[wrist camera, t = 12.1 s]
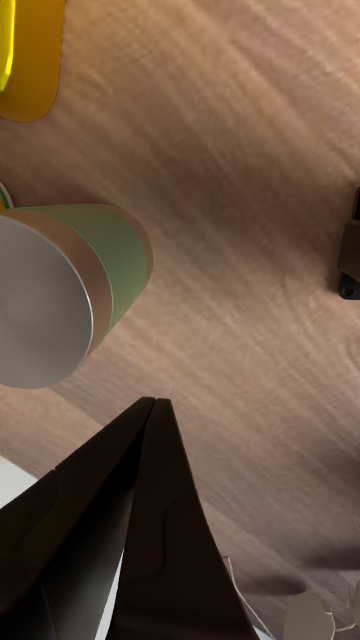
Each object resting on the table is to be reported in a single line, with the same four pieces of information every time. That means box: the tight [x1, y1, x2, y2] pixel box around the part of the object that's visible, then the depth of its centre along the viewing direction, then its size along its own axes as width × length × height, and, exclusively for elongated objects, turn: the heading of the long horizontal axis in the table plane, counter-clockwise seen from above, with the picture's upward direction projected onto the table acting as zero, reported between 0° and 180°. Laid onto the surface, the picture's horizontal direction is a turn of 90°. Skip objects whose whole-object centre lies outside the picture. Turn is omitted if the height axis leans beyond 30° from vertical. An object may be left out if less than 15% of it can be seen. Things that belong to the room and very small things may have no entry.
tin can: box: [0, 203, 153, 389], centre depth 15 cm, size 7×7×10 cm
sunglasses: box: [228, 506, 360, 640], centre depth 27 cm, size 14×8×5 cm, turn 135°
